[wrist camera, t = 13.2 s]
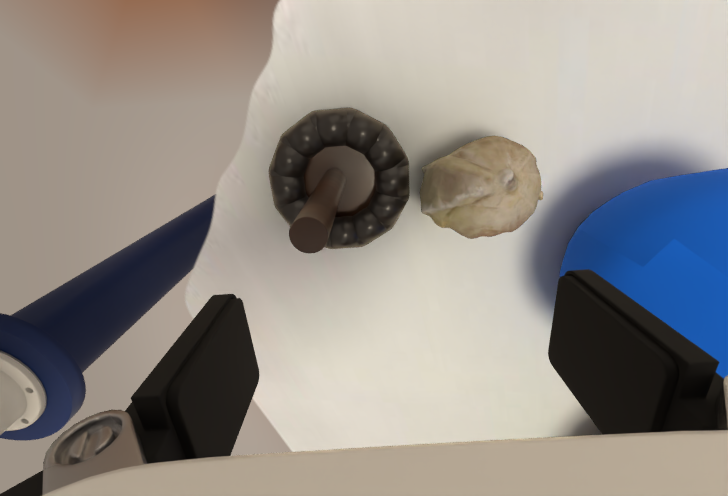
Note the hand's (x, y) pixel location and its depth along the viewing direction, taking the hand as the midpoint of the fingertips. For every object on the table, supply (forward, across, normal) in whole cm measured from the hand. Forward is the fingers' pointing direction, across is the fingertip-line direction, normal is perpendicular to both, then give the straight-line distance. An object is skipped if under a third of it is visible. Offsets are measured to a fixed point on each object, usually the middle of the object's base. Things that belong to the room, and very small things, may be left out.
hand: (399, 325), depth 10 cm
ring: (+21, +3, 0) cm, 21 cm away
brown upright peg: (+23, +4, 0) cm, 23 cm away
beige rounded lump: (+23, -8, +1) cm, 24 cm away
